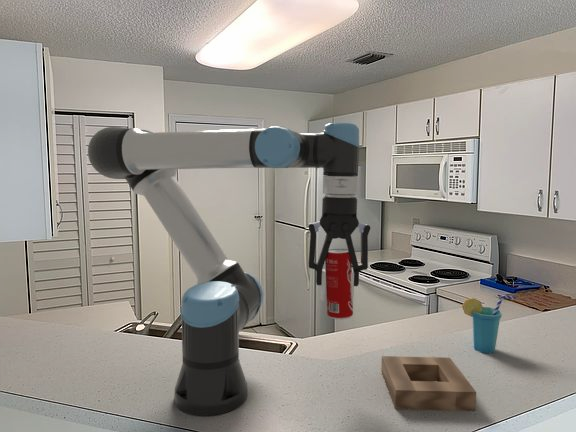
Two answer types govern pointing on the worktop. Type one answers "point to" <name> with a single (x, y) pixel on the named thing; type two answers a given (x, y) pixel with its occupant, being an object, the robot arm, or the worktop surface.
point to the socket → (427, 384)
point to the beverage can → (339, 284)
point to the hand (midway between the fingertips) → (336, 299)
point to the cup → (484, 323)
